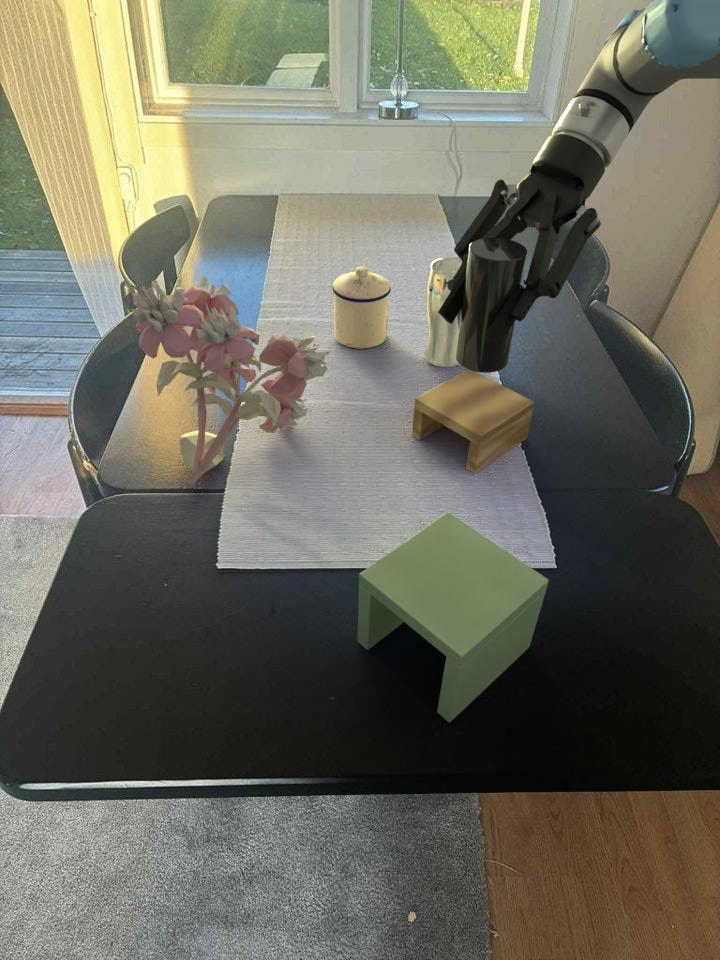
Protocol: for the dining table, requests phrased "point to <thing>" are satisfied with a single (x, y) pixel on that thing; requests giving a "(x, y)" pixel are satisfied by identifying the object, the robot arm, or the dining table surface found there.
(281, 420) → the flower
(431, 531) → the green step stool
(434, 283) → the beer glass
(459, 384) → the low shelf
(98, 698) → the dining table surface
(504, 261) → the dark grey cylinder
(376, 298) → the teacup with lid
